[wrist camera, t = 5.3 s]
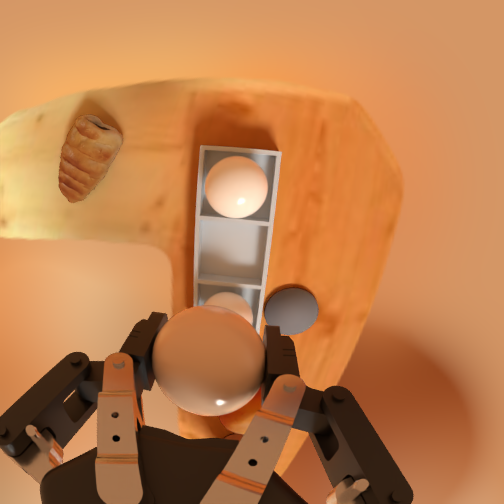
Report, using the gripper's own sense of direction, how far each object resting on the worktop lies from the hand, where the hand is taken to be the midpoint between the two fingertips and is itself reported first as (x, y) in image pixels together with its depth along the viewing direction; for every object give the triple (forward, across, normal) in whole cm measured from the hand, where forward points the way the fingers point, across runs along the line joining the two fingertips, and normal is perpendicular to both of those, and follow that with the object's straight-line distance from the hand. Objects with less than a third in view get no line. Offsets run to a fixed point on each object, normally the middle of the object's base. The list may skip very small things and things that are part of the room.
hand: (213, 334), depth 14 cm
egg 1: (+11, 0, -6) cm, 13 cm away
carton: (+15, 0, 0) cm, 15 cm away
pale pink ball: (-2, 0, 0) cm, 2 cm away
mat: (+15, -7, +7) cm, 18 cm away
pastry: (+15, +16, -8) cm, 24 cm away
